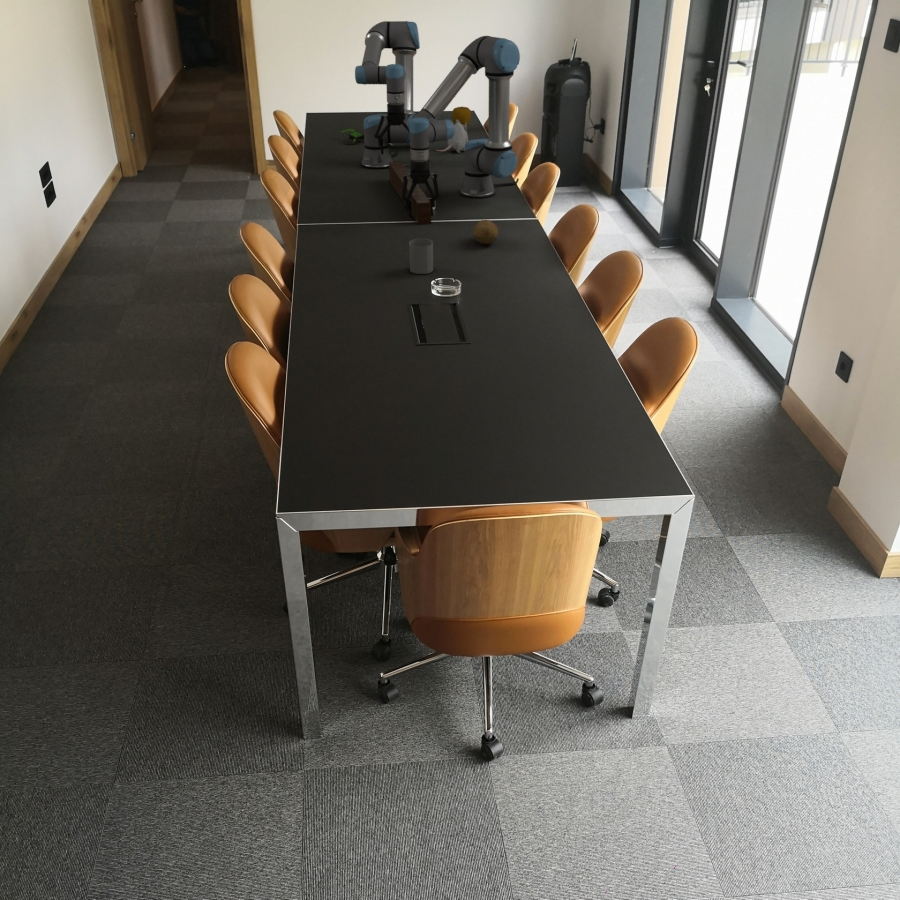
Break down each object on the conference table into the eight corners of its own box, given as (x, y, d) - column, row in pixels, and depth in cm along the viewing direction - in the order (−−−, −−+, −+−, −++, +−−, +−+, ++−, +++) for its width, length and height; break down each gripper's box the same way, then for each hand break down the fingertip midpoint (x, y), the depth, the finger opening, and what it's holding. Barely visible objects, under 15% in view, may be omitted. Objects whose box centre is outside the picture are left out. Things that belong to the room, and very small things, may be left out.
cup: (409, 265, 311) (408, 238, 306) (432, 265, 312) (431, 238, 307) (410, 274, 304) (409, 246, 299) (433, 273, 305) (433, 246, 299)
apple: (471, 132, 486) (471, 108, 479) (451, 132, 486) (451, 108, 479) (470, 128, 495) (471, 104, 488) (452, 128, 495) (452, 104, 488)
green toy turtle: (394, 125, 469) (339, 123, 467) (394, 140, 462) (338, 138, 460) (394, 135, 474) (339, 133, 472) (394, 150, 467) (338, 148, 464)
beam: (389, 181, 404) (388, 162, 400) (400, 180, 405) (400, 161, 401) (417, 224, 351) (417, 203, 347) (431, 223, 352) (430, 202, 348)
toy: (473, 150, 452) (473, 120, 444) (442, 158, 438) (441, 127, 430) (460, 147, 458) (460, 117, 449) (429, 155, 443) (428, 125, 435)
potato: (495, 236, 338) (496, 216, 334) (500, 248, 327) (500, 227, 322) (471, 236, 338) (471, 216, 334) (474, 249, 326) (474, 228, 322)
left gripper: (368, 106, 374) (371, 156, 385) (425, 103, 379) (425, 153, 390) (365, 102, 380) (368, 152, 391) (421, 100, 385) (422, 149, 396)
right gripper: (395, 163, 340) (397, 220, 352) (447, 160, 344) (447, 216, 356) (392, 158, 346) (393, 214, 358) (443, 155, 350) (443, 211, 362)
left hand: (397, 152), depth 391 cm, fingers open, 13 cm apart
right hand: (420, 215), depth 357 cm, fingers open, 8 cm apart
